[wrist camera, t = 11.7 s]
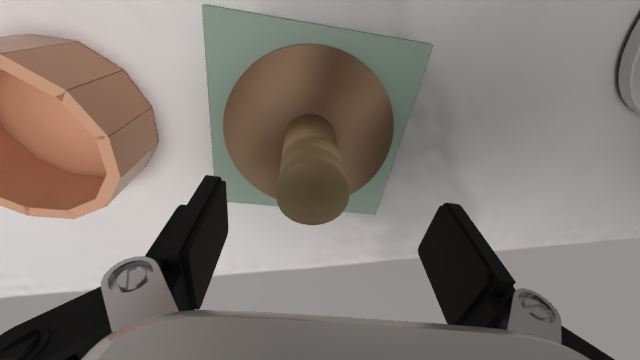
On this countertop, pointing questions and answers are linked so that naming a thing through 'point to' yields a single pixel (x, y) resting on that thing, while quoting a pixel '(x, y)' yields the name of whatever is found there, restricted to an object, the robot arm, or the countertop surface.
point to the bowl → (67, 128)
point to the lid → (308, 129)
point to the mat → (274, 33)
